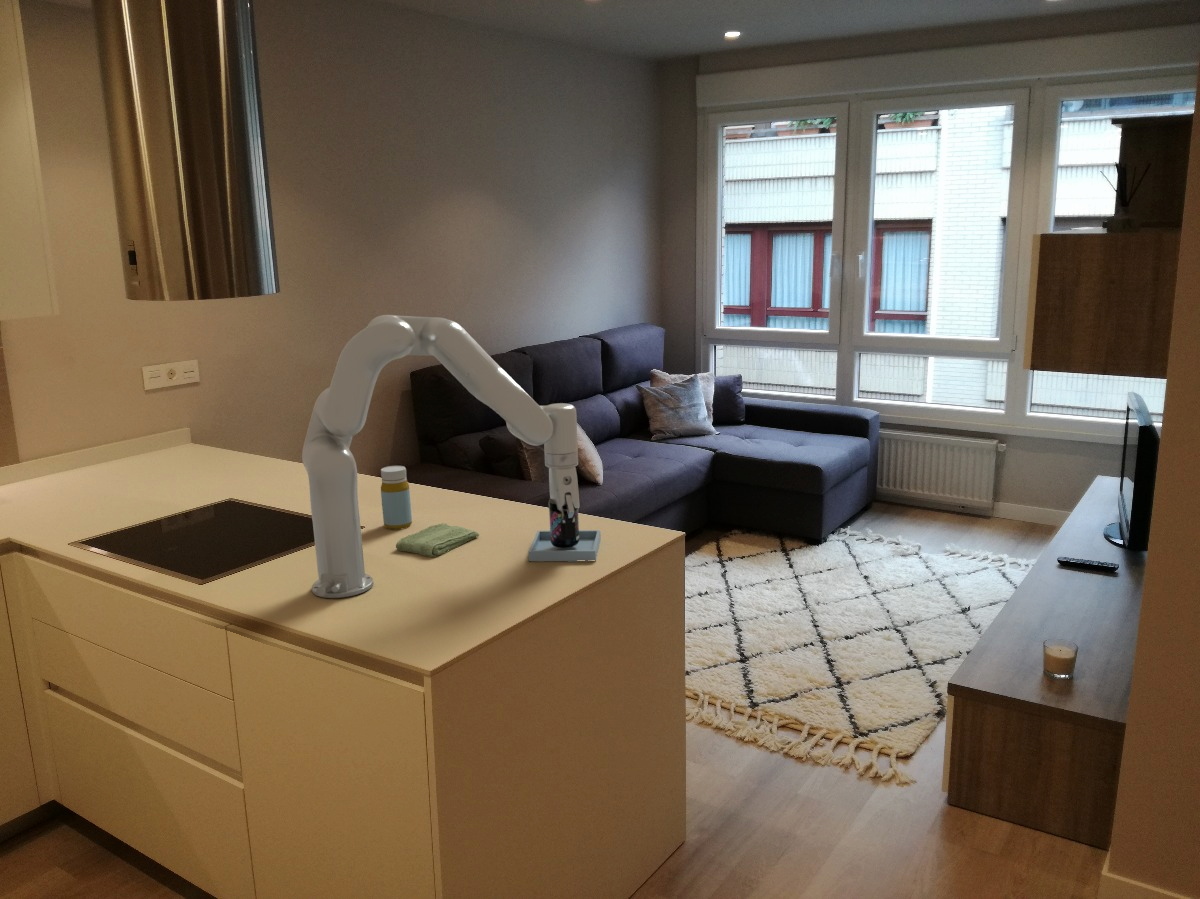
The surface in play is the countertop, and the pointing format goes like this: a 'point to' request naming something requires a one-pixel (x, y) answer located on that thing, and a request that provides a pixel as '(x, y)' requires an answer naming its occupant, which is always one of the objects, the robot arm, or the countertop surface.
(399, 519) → the bottle
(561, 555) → the tray
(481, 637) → the countertop surface
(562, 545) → the supplement container
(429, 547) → the washcloth
